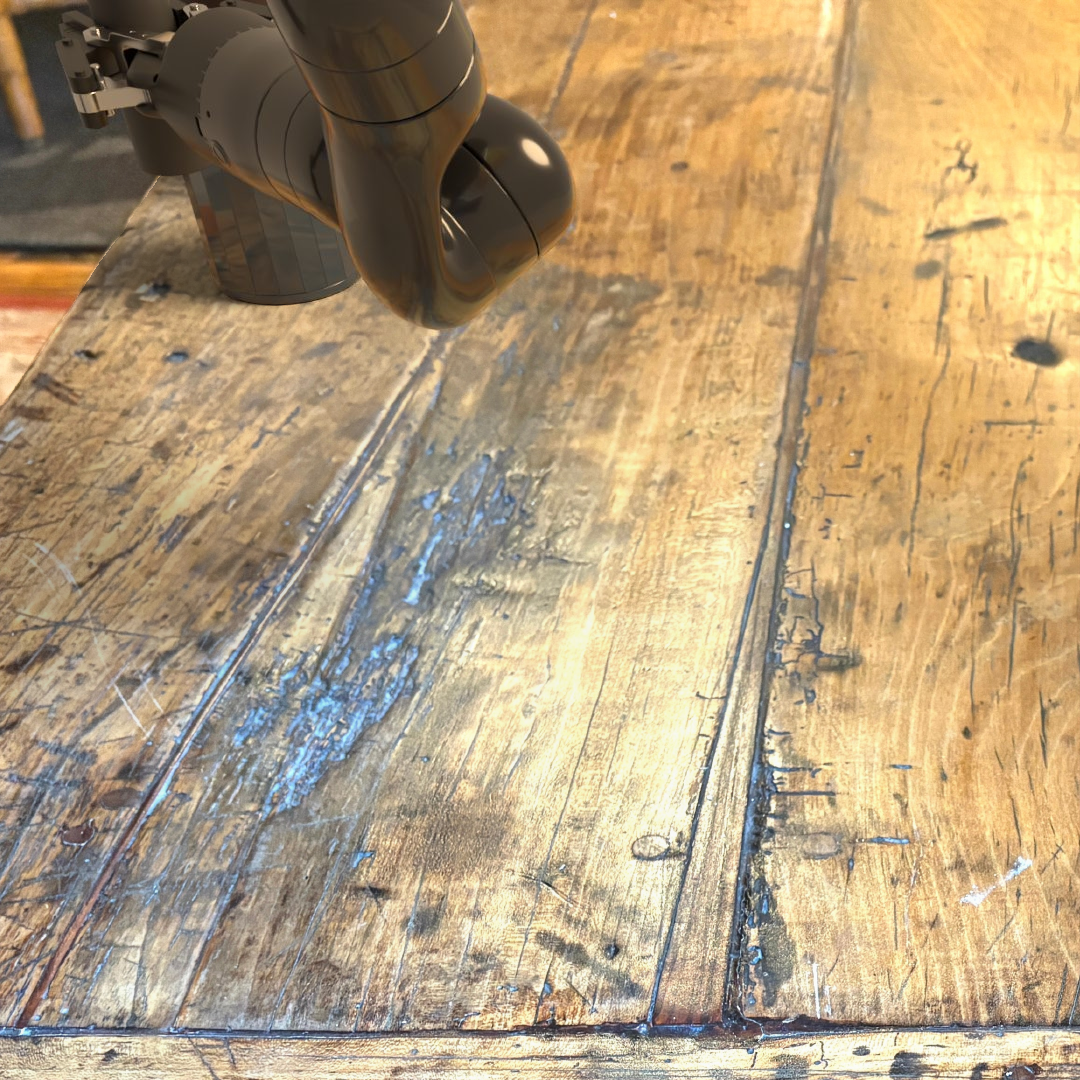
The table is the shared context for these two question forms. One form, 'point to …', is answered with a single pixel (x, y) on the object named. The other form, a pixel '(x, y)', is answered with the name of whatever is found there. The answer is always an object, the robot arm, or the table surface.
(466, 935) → the table surface
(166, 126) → the glue stick
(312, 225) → the pencil cup
